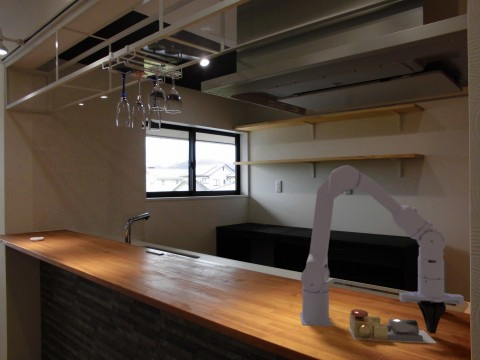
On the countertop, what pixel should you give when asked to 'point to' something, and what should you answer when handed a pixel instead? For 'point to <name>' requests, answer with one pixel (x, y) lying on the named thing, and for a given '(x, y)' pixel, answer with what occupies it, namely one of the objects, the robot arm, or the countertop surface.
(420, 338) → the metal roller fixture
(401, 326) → the metal cylinder
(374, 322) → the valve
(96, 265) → the countertop surface
